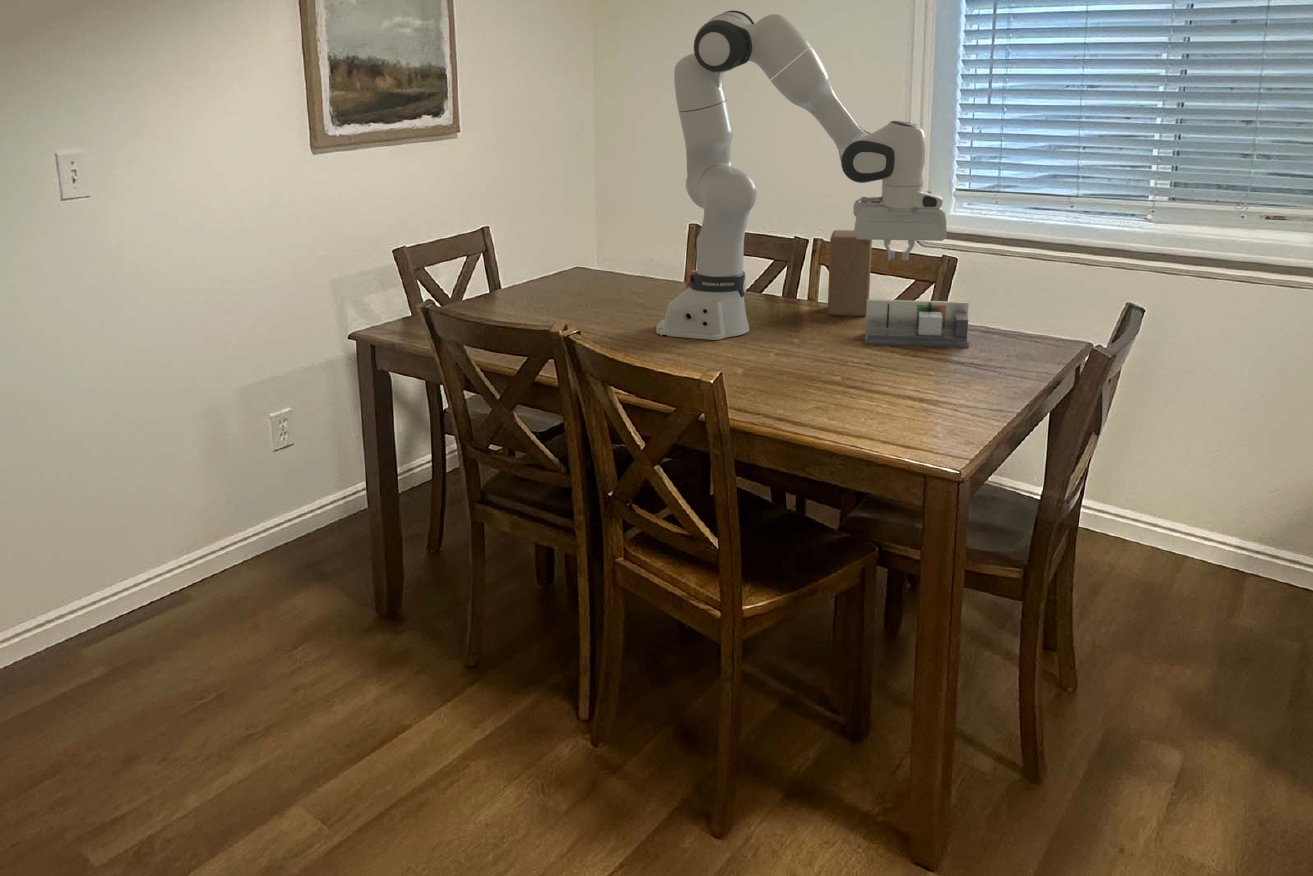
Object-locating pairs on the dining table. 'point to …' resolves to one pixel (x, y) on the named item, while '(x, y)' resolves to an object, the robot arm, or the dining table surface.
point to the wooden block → (848, 274)
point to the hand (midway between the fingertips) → (898, 259)
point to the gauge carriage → (930, 323)
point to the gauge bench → (915, 323)
